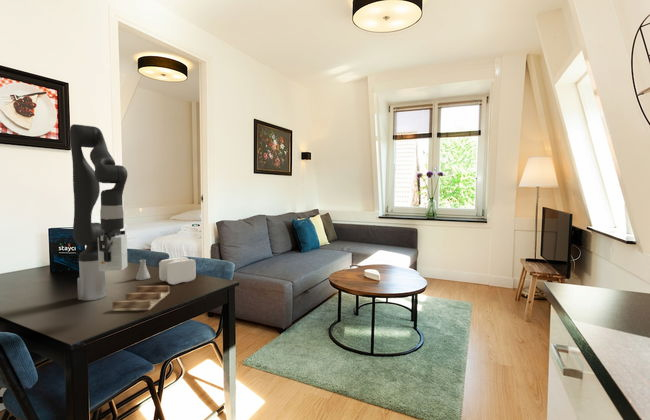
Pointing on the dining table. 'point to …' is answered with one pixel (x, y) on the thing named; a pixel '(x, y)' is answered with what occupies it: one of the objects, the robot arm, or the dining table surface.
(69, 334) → the dining table surface
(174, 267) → the cable organizer
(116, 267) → the small box
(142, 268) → the flask
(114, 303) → the slot rack
